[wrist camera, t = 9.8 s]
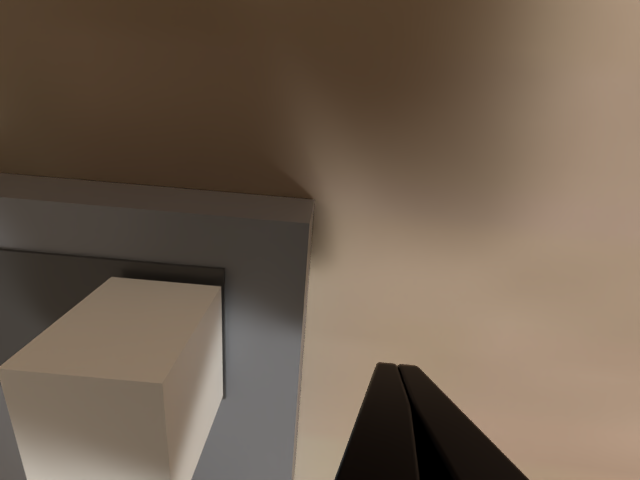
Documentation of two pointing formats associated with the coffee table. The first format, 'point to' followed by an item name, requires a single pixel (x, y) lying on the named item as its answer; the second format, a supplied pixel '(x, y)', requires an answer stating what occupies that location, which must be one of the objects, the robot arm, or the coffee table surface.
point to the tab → (120, 384)
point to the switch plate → (171, 266)
